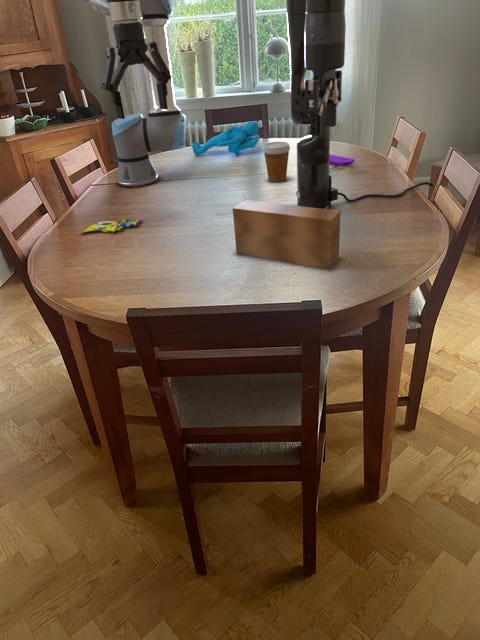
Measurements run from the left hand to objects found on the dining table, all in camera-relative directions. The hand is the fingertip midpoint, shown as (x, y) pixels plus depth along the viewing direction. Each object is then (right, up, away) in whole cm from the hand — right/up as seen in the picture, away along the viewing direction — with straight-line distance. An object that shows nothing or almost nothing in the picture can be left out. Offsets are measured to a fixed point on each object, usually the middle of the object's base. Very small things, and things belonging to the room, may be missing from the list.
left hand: (143, 113), depth 131 cm
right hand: (+44, -17, -32) cm, 57 cm away
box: (+38, -41, -12) cm, 57 cm away
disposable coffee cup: (+40, -6, +41) cm, 58 cm away
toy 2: (+21, +16, +79) cm, 83 cm away
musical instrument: (+58, +4, +54) cm, 80 cm away
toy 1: (-12, -28, +14) cm, 34 cm away
